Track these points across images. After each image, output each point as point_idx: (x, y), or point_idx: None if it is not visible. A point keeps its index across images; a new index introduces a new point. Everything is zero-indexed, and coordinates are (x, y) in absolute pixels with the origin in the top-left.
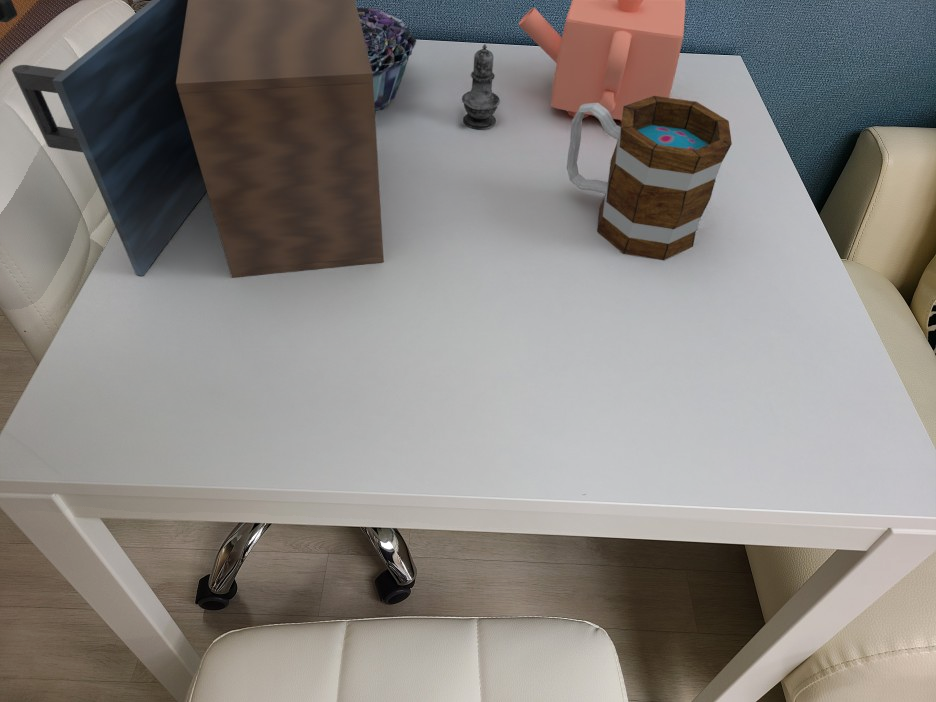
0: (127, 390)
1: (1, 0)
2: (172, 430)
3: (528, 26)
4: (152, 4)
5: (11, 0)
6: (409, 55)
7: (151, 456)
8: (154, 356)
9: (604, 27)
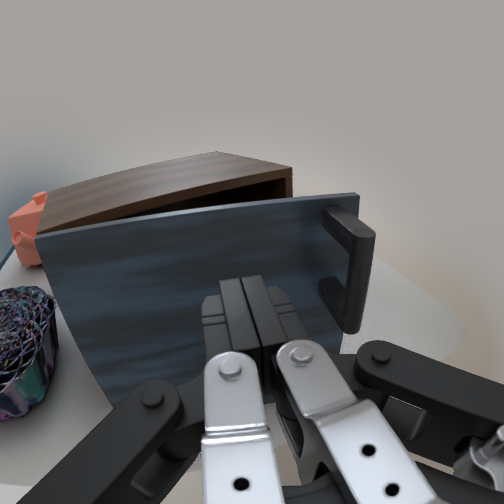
0: (404, 324)
1: (250, 276)
2: (401, 297)
3: (24, 238)
4: (129, 218)
5: (219, 287)
6: (23, 286)
7: (415, 295)
8: (379, 329)
9: None
